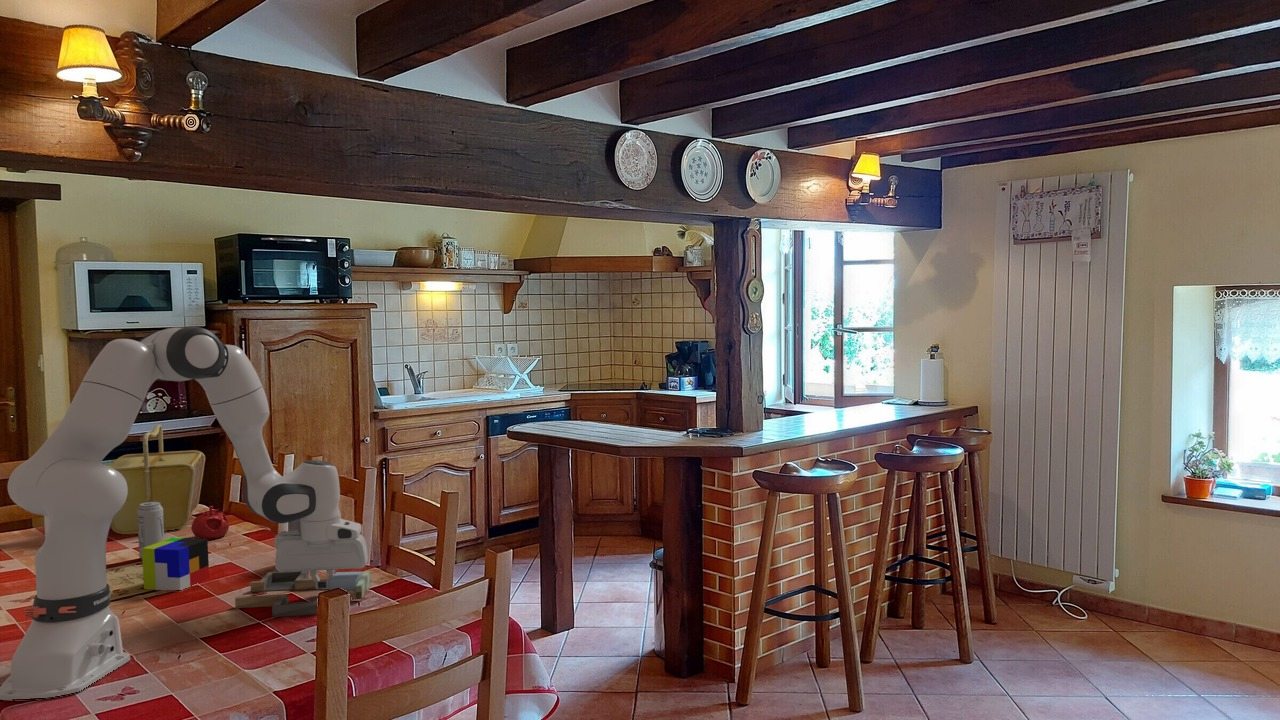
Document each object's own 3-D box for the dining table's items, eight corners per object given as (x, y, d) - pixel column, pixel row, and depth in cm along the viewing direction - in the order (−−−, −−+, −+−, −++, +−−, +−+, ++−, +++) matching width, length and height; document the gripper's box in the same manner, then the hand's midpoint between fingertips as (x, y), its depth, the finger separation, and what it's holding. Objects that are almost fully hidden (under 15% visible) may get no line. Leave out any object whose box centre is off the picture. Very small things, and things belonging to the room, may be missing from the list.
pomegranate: (184, 541, 253) (182, 509, 252) (210, 532, 262) (208, 501, 262) (212, 542, 250) (210, 510, 249) (237, 533, 259) (235, 502, 259)
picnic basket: (119, 517, 283) (115, 425, 281) (207, 509, 292) (204, 420, 290) (99, 539, 256) (94, 437, 254) (197, 530, 265) (193, 432, 263)
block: (356, 598, 200) (355, 579, 200) (329, 599, 200) (328, 580, 200) (362, 590, 206) (362, 571, 206) (336, 591, 206) (336, 572, 206)
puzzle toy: (180, 591, 207) (178, 550, 206) (143, 589, 209) (142, 548, 208) (209, 578, 216) (207, 539, 216) (174, 576, 218) (172, 537, 218)
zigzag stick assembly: (355, 612, 191) (355, 596, 191) (224, 619, 187) (224, 603, 187) (375, 575, 217) (375, 561, 217) (261, 581, 214) (260, 567, 213)
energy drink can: (163, 560, 233) (161, 504, 232) (137, 563, 230) (135, 507, 229) (166, 554, 238) (164, 500, 237) (141, 557, 236) (138, 502, 235)
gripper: (270, 535, 197) (272, 594, 198) (363, 531, 200) (365, 590, 201) (277, 528, 204) (279, 586, 204) (368, 524, 206) (369, 581, 207)
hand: (322, 588), depth 203 cm, fingers closed
